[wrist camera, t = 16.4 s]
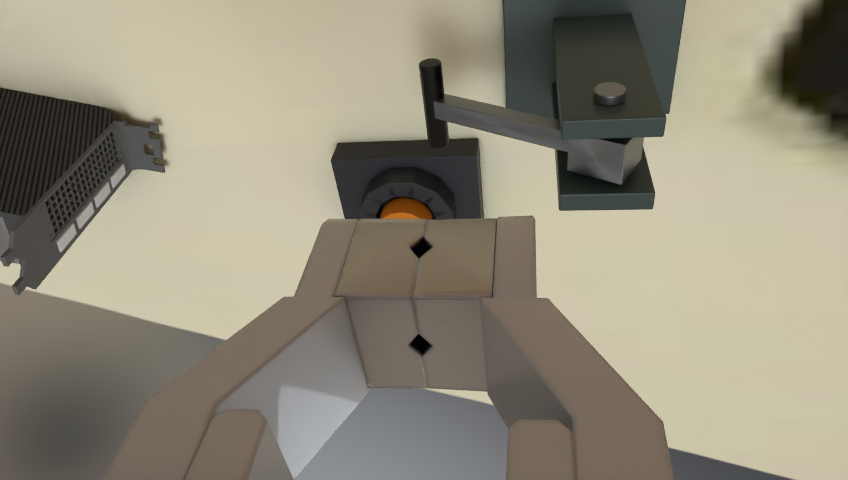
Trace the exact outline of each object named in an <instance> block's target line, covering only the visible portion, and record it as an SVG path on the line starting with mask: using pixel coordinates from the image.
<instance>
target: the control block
mask: <svg viewBox="0 0 848 480" xmlns="http://www.w3.org/2000/svg"><path fill="white" fill-rule="evenodd" d="M331 163H332V167H333V171H334V176H335V180H336V184H337V188H338V192H339V196H340V200H341V205H342V209H343V213H344V217H345V219H359V220H361V219H380V216H381V212H382V210H383V208H384V206H385V205H386V204H387V203H388V202H390V201H391V200H394V199H397V198H412V199H415V200H418V201H420V202H421V203H423V204H424V205H425V206H426V207H427V208H428V209H429V210H430V212H431V215H432V219H433V220H434V219H484V214H483V199H482V184H481V168H480V153H479V139H453V140H449V143H448V145H447V146H445V147H443V148H432V147H430V145H429V143H428V140H423V141H393V142H364V143H338V144H337V146H336V149H335V151H334V154H333V156H332V159H331Z"/></svg>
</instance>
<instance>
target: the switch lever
mask: <svg viewBox="0 0 848 480" xmlns="http://www.w3.org/2000/svg"><path fill="white" fill-rule="evenodd" d="M419 70H420V79H421V87H422V95H423V103H424V111H425V119H426V127H427V135H428V143H429V145H430V147H432V148H443V147H445V146H447V145H448V143H449V135H448V125H447V122H451V123H455V124H459V125H463V126H467V127H471V128H475V129H479V130H483V131H486V132H490V133H494V134H498V135H502V136H506V137H510V138H514V139H518V140H522V141H526V142H530V143H534V144H538V145H542V146H545V147H549V148H553V149H557V150H561V151H565V152H568V162H567V170H568V171H571V172H575V173H579V174H582V175H586V176H590V177H594V178H597V179H601V180H605V181H608V182H612V183H616V184H620V185H622V184H623V183H624V181H625V180H626V179H627V177H628V176H629V175H630V174H631V172H632V171H633V170H634V168H635V167H636V166H637V164H638V163H639V162H640V160H641V156H642V148H643V140H644V137H634V138H603V139H573V140H562V139H561V133H560V120H557V119H553V118H548V117H544V116H539V115H535V114H531V113H526V112H522V111H518V110H513V109H509V108H504V107H500V106H496V105H491V104H487V103H483V102H478V101H474V100H469V99H465V98H461V97H456V96H452V95H448V94H444V85H443V75H442V65H441V61H440V60H438V59H426V60H423V61H421V62H420V63H419Z"/></svg>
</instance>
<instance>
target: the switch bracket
mask: <svg viewBox="0 0 848 480" xmlns="http://www.w3.org/2000/svg"><path fill="white" fill-rule="evenodd" d="M685 4H686V0H503V15H504V46H505V77H506V108H509V109H513V110H518V111H522V112H526V113H531V114H535V115H539V116H544V117H548V118H553V119H557V120H560V133H561V139H562V140H573V139H603V138H634V137H662V136H663V135H664V130H665V123H666V115H665V114H669V112H670V105H671V98H672V91H673V85H674V78H675V71H676V65H677V58H678V51H679V44H680V38H681V31H682V24H683V18H684V11H685ZM555 157H556V173H557V188H558V203H559V210H560V211H569V210H634V209H653V205H654V199H655V190H654V186H653V183H652V179H651V175H650V171H649V167H648V163H647V159H646V156H645V152H644V148H642V156H641V160H640V162H639V163H638V164H637V166H636V167H635V168H634V170H633V171H632V172H631V174H630V175H629V176H628V177H627V179H626V180H625V181H624V183H623V184H622V185H620V184H616V183H612V182H608V181H605V180H601V179H597V178H594V177H590V176H586V175H582V174H579V173H575V172H571V171H568V170H567V162H568V152H565V151H561V150H557V149H555Z"/></svg>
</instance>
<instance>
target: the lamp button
mask: <svg viewBox="0 0 848 480" xmlns="http://www.w3.org/2000/svg"><path fill="white" fill-rule="evenodd" d="M380 219H428V220H433V219H432V215H431V212H430V210H429V209H428V208H427V207H426V206H425V205H424V204H423V203H421V202H420V201H418V200H415V199H412V198H397V199H394V200H391V201H390V202H388V203H387V204H386V205H385V206H384V208H383V210H382V212H381V216H380Z"/></svg>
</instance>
